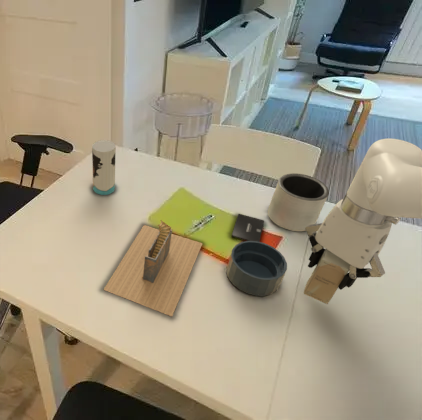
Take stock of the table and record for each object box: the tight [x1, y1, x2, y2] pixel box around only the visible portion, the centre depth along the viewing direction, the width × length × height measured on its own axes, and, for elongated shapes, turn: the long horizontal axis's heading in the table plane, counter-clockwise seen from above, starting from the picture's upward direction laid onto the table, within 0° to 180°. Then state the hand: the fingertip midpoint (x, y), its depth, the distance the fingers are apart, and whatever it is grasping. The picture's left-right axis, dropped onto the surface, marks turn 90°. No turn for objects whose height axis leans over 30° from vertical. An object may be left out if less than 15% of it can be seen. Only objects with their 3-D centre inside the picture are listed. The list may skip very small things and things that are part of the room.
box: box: [303, 248, 349, 305], centre depth 77 cm, size 5×4×11 cm
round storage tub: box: [225, 240, 288, 297], centre depth 86 cm, size 12×12×6 cm
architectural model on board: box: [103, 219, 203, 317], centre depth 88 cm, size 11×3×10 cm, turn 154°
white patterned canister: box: [91, 139, 117, 196], centre depth 111 cm, size 7×7×15 cm
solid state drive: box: [231, 213, 265, 242], centre depth 101 cm, size 7×10×1 cm
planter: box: [267, 172, 330, 232], centre depth 101 cm, size 12×13×11 cm
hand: (328, 274), depth 77 cm, fingers closed on box, 6 cm apart
